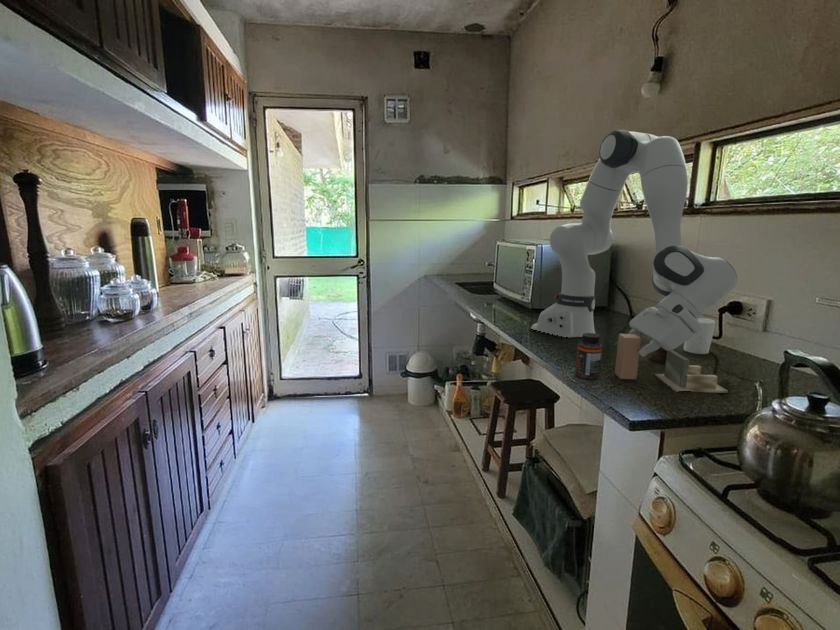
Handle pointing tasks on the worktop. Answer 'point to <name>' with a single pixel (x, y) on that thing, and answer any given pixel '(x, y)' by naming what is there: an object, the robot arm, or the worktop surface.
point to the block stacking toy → (687, 376)
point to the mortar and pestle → (659, 355)
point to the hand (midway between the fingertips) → (631, 348)
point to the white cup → (701, 338)
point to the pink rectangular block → (627, 356)
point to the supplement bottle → (589, 356)
